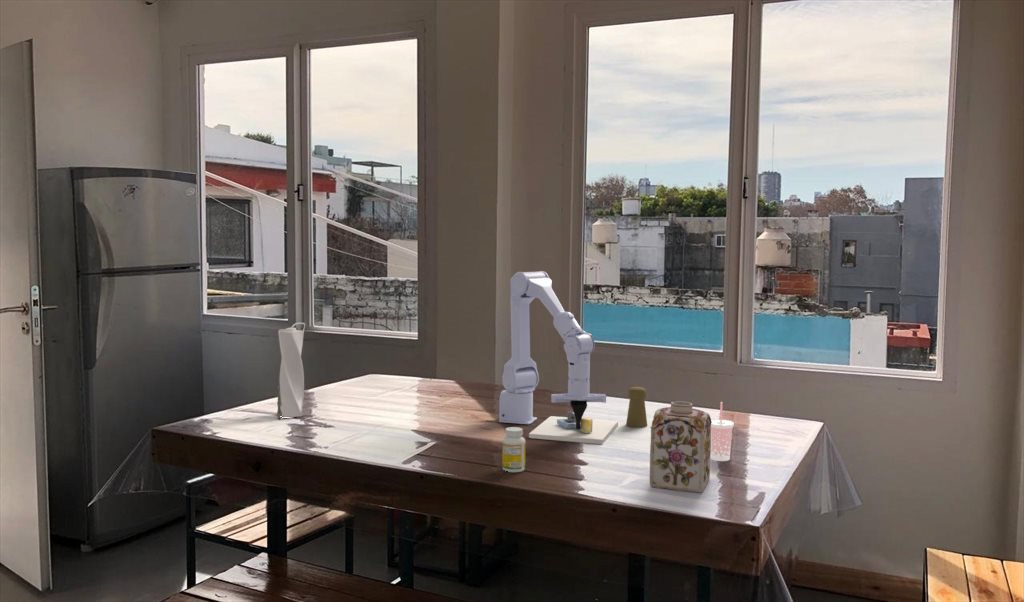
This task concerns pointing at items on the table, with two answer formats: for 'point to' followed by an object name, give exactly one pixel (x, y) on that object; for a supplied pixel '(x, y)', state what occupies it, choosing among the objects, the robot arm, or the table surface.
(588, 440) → the base plate
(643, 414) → the cork
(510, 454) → the supplement bottle
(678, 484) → the decorative jar
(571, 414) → the post
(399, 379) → the table surface
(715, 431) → the beverage cup
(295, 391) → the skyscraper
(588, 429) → the square ring with handle
